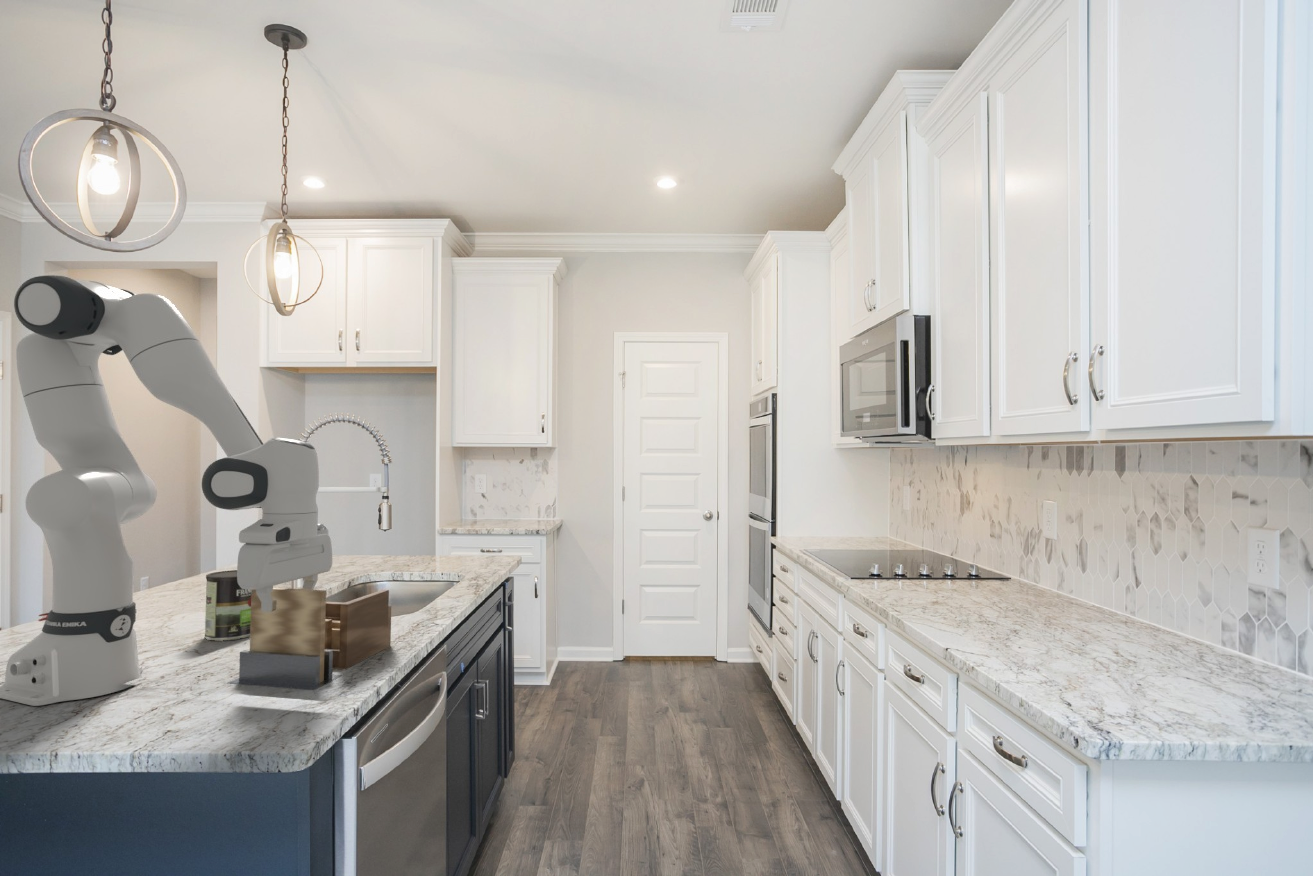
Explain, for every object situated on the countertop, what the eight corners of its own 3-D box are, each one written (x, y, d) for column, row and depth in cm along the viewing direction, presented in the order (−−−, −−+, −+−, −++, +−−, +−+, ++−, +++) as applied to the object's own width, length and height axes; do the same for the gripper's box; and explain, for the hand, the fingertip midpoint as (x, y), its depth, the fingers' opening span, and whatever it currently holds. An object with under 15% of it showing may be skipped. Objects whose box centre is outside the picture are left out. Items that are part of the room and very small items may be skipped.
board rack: (252, 670, 130) (254, 599, 130) (308, 647, 146) (309, 584, 146) (344, 677, 127) (346, 605, 127) (391, 653, 143) (392, 588, 143)
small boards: (275, 659, 132) (276, 618, 133) (291, 652, 137) (292, 613, 137) (342, 664, 130) (344, 622, 130) (356, 657, 134) (357, 616, 135)
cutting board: (248, 677, 122) (251, 588, 122) (253, 675, 123) (256, 586, 123) (319, 682, 119) (321, 591, 120) (323, 680, 121) (326, 590, 121)
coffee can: (267, 630, 159) (269, 570, 159) (233, 642, 149) (235, 578, 149) (228, 628, 161) (230, 568, 161) (192, 639, 150) (194, 576, 151)
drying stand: (226, 691, 119) (227, 654, 119) (260, 677, 126) (261, 641, 127) (313, 698, 116) (314, 660, 116) (342, 683, 124) (343, 647, 124)
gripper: (312, 522, 133) (310, 593, 132) (230, 533, 112) (228, 617, 112) (342, 523, 132) (340, 594, 131) (264, 535, 111) (262, 619, 111)
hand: (287, 605), depth 121 cm, fingers open, 8 cm apart
